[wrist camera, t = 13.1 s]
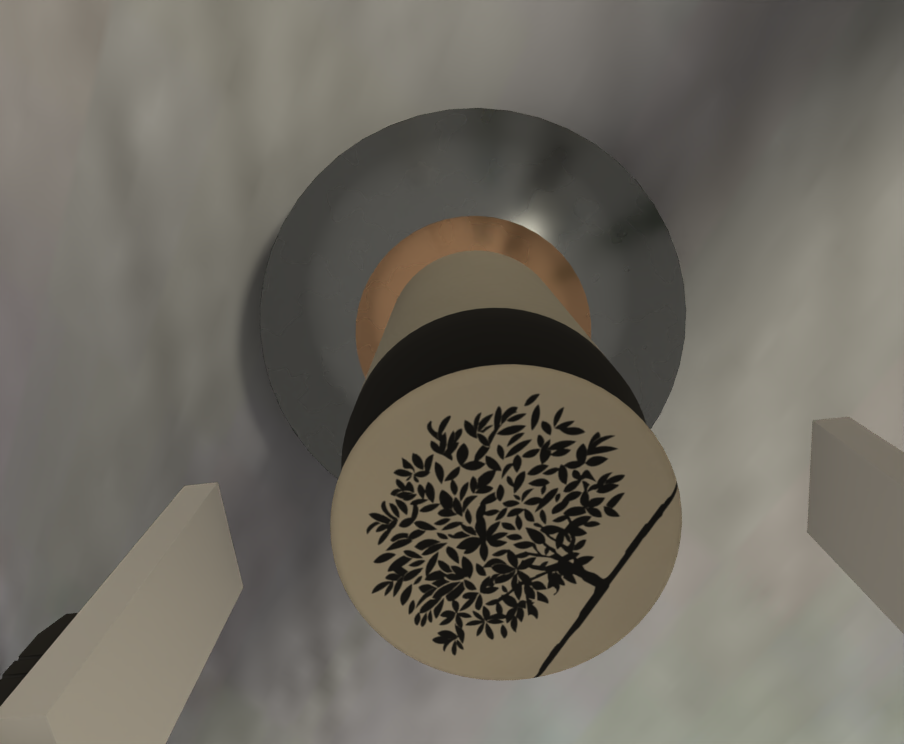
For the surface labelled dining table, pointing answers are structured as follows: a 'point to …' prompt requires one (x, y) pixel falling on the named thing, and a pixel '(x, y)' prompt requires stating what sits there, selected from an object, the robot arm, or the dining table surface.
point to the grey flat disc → (456, 230)
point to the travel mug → (499, 481)
